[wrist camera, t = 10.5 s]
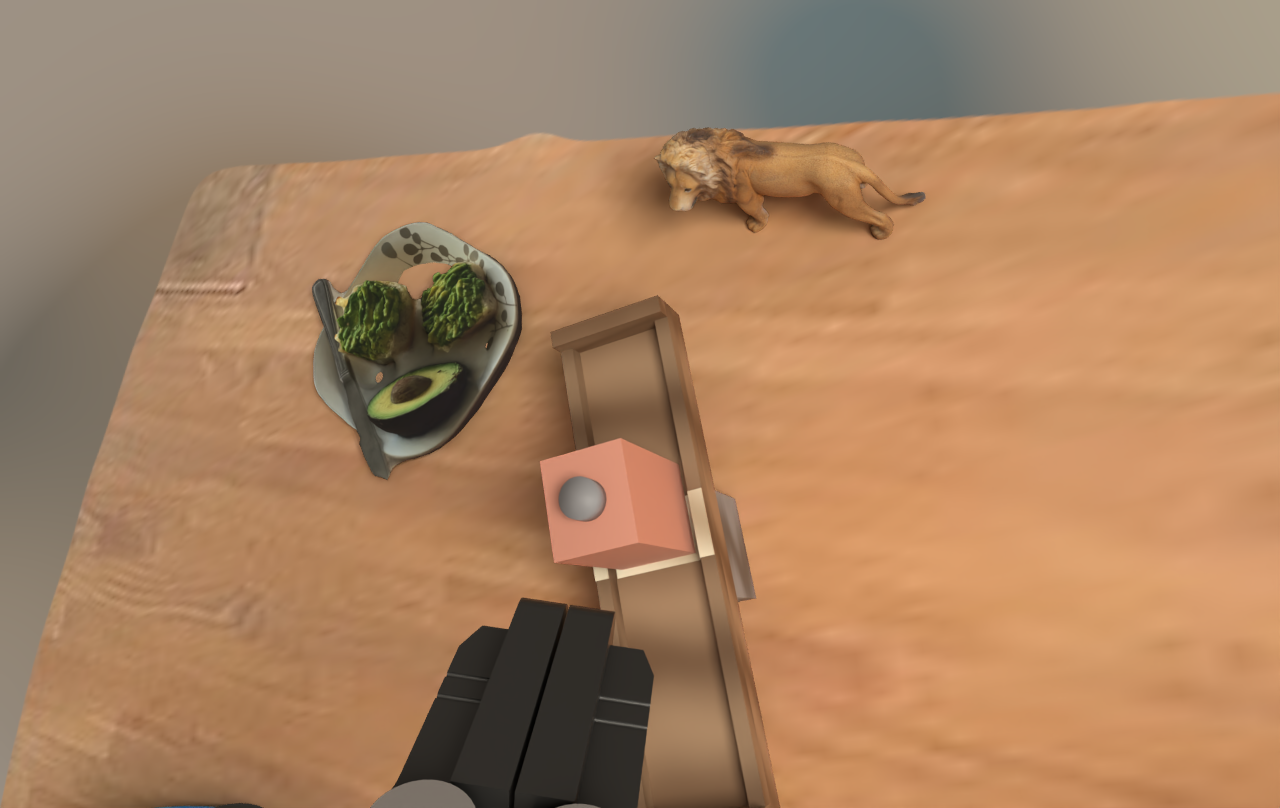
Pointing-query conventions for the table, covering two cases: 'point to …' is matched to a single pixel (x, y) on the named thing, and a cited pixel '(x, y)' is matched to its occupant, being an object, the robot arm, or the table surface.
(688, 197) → the lion figurine
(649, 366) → the beam
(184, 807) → the alarm clock
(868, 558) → the table surface
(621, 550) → the rider
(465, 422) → the salad plate
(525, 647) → the robot arm
